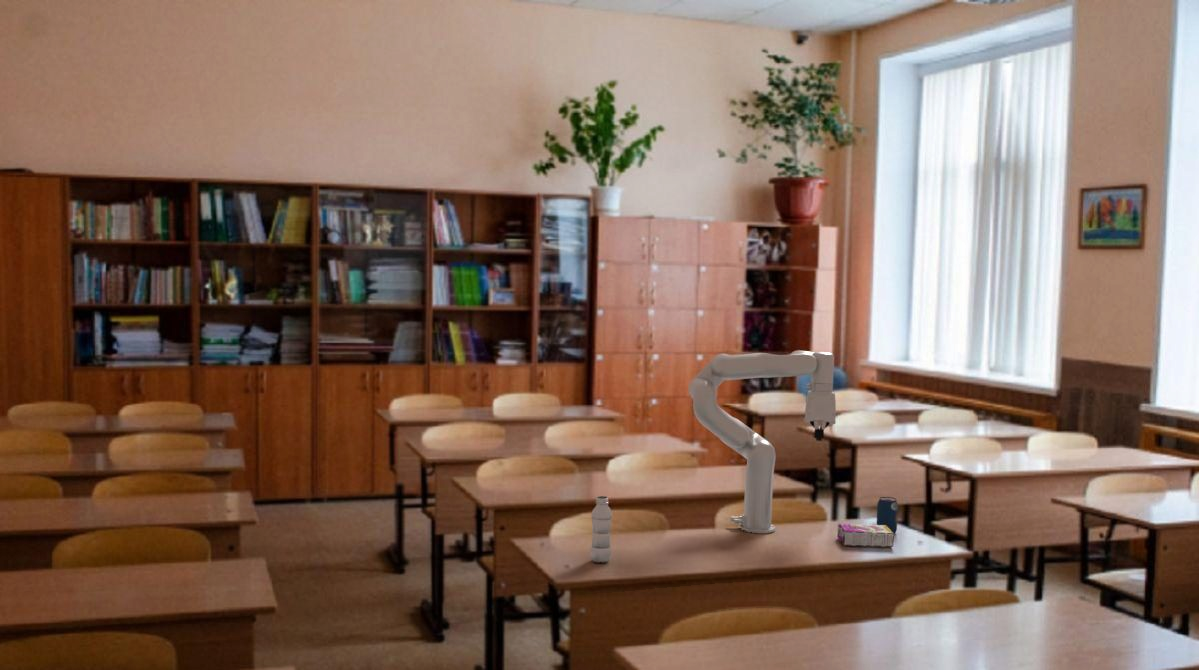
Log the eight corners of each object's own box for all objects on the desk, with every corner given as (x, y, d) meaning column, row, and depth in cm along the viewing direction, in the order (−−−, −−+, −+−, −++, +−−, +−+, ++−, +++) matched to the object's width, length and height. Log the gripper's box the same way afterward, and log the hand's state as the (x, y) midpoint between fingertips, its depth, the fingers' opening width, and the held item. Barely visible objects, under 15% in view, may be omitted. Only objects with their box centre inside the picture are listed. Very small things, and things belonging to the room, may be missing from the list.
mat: (845, 545, 353) (845, 544, 353) (839, 536, 365) (839, 535, 365) (891, 547, 353) (891, 546, 352) (883, 538, 364) (883, 537, 364)
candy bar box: (837, 522, 362) (886, 524, 362) (836, 537, 363) (885, 539, 362) (844, 530, 351) (894, 533, 351) (843, 545, 351) (893, 548, 351)
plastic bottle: (585, 562, 326) (587, 498, 324) (596, 557, 332) (598, 493, 330) (604, 566, 323) (606, 501, 321) (614, 560, 329) (616, 496, 327)
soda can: (900, 534, 369) (902, 500, 369) (882, 535, 368) (884, 501, 367) (889, 529, 376) (891, 496, 375) (872, 530, 374) (874, 496, 373)
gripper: (800, 388, 366) (797, 441, 368) (844, 390, 365) (841, 443, 366) (798, 385, 374) (796, 437, 375) (842, 387, 372) (839, 439, 374)
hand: (818, 440), depth 371 cm, fingers closed
